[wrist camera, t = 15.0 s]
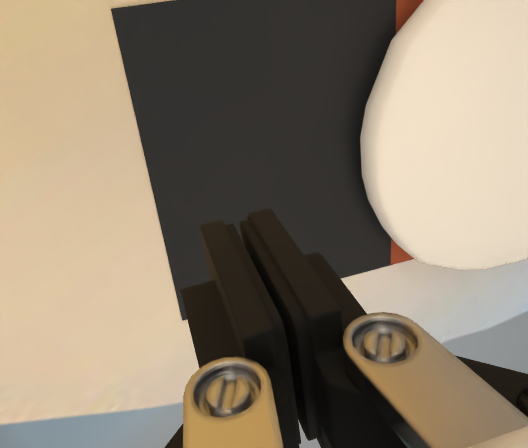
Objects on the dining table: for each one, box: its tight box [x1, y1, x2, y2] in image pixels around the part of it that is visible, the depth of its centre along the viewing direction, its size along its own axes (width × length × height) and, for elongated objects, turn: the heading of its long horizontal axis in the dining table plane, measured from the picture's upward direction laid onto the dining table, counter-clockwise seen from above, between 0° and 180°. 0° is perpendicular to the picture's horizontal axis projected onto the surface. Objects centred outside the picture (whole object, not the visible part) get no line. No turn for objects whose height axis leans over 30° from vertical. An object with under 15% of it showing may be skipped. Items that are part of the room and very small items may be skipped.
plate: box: [360, 0, 528, 270], centre depth 41 cm, size 28×6×27 cm
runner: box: [111, 0, 423, 320], centre depth 42 cm, size 25×40×1 cm, turn 96°
